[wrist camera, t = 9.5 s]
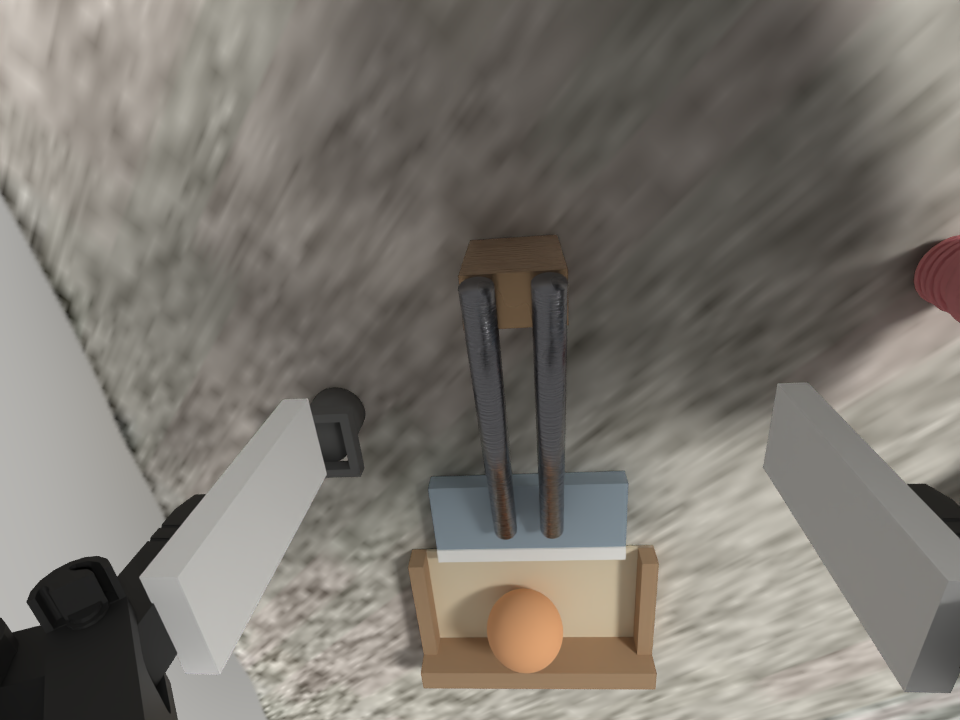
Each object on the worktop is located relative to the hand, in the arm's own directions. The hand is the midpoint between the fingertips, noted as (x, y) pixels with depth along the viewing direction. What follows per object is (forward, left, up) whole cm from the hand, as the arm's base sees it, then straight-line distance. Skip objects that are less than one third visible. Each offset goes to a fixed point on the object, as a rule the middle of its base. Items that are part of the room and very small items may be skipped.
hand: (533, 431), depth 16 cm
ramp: (+6, 0, -14) cm, 16 cm away
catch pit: (+23, 0, -14) cm, 27 cm away
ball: (+23, -1, -12) cm, 26 cm away
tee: (+7, -11, -14) cm, 20 cm away
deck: (+15, 0, -14) cm, 21 cm away
